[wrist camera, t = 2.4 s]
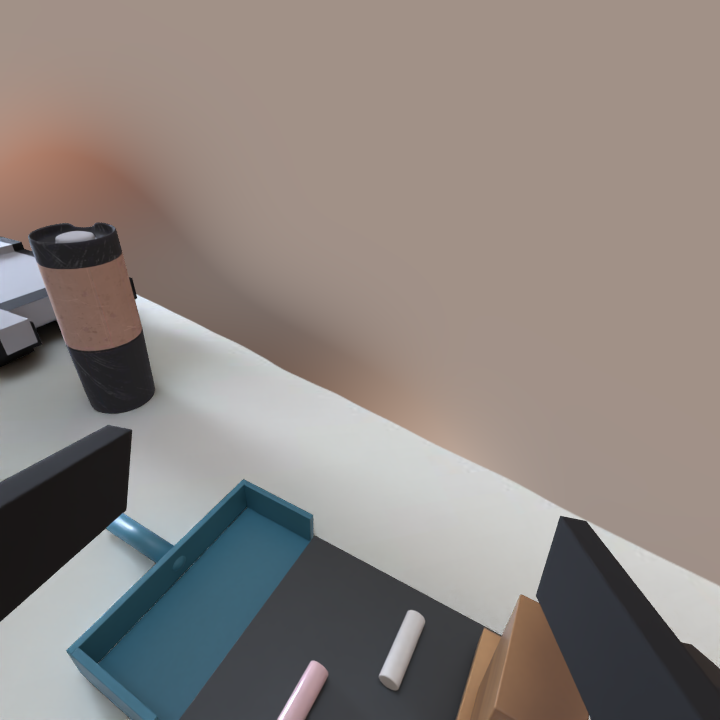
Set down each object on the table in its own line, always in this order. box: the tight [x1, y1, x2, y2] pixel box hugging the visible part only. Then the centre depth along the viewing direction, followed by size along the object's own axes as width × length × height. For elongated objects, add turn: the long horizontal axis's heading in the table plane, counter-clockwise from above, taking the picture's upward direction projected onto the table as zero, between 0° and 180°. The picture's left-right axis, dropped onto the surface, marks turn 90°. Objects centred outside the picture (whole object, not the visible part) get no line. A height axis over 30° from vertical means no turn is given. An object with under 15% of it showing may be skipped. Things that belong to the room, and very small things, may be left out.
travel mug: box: [28, 223, 155, 413], centre depth 48 cm, size 8×8×20 cm
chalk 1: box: [277, 660, 329, 720], centre depth 26 cm, size 1×5×1 cm, turn 151°
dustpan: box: [66, 479, 314, 720], centre depth 33 cm, size 15×16×3 cm
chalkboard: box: [179, 536, 502, 720], centre depth 27 cm, size 20×15×2 cm
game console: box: [0, 237, 137, 367], centre depth 64 cm, size 21×32×8 cm, turn 65°
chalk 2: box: [379, 610, 425, 691], centre depth 29 cm, size 1×5×1 cm, turn 151°
